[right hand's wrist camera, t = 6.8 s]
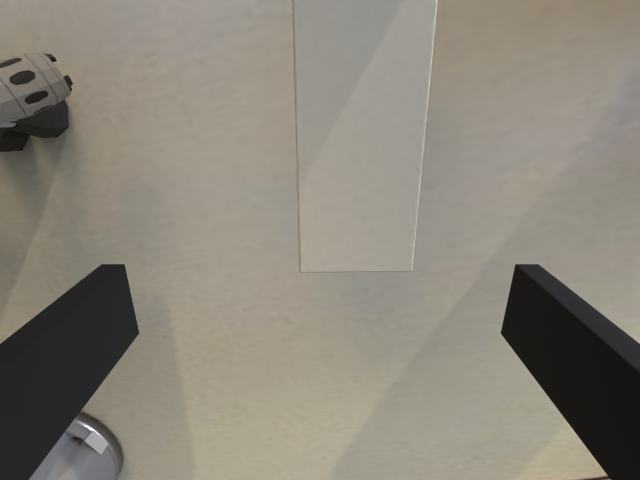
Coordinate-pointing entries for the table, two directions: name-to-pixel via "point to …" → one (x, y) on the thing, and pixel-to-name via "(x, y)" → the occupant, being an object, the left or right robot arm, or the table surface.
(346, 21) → the bar
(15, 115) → the robot
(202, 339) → the table surface
